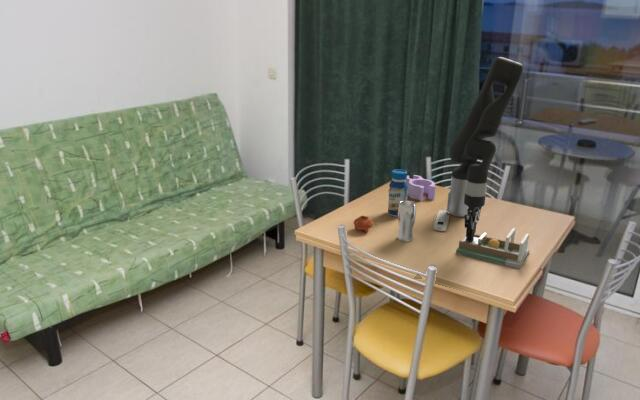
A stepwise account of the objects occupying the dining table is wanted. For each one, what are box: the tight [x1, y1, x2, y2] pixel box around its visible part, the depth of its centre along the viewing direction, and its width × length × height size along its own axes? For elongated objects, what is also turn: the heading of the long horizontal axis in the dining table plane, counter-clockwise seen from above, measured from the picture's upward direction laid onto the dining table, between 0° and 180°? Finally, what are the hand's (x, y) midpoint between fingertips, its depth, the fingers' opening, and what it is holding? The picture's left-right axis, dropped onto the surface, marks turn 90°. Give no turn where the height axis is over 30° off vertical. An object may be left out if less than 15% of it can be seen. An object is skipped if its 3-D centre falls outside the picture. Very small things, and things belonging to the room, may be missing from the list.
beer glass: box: [397, 200, 417, 243], centre depth 205 cm, size 7×7×15 cm
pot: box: [353, 215, 374, 234], centre depth 214 cm, size 8×8×7 cm
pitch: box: [455, 227, 530, 269], centre depth 194 cm, size 23×16×10 cm
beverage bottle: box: [387, 168, 408, 218], centre depth 230 cm, size 8×8×20 cm
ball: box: [488, 238, 499, 249], centre depth 195 cm, size 4×4×4 cm
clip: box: [406, 174, 437, 202], centre depth 258 cm, size 20×12×7 cm, turn 16°
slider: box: [462, 218, 488, 246], centre depth 197 cm, size 7×7×10 cm
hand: (470, 234), depth 199 cm, fingers open, 3 cm apart
